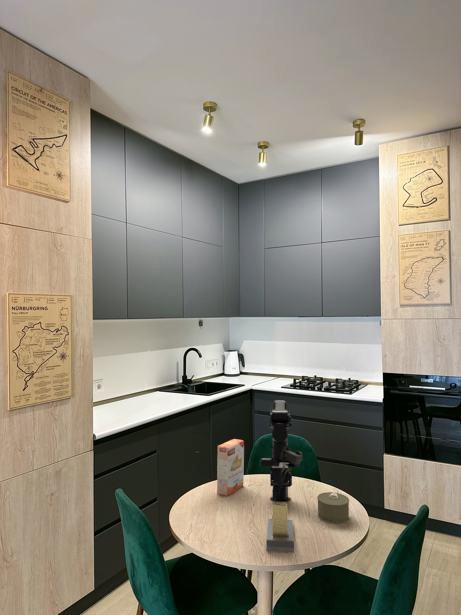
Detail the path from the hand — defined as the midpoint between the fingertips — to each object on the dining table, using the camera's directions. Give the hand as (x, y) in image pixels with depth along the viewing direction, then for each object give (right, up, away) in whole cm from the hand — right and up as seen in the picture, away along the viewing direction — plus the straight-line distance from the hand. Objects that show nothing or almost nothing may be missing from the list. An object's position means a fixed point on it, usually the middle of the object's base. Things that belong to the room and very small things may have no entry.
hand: (280, 487), depth 163 cm
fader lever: (-2, -11, -16) cm, 19 cm away
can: (+21, -14, +5) cm, 26 cm away
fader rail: (-1, -13, -10) cm, 16 cm away
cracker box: (-18, -14, +31) cm, 39 cm away
